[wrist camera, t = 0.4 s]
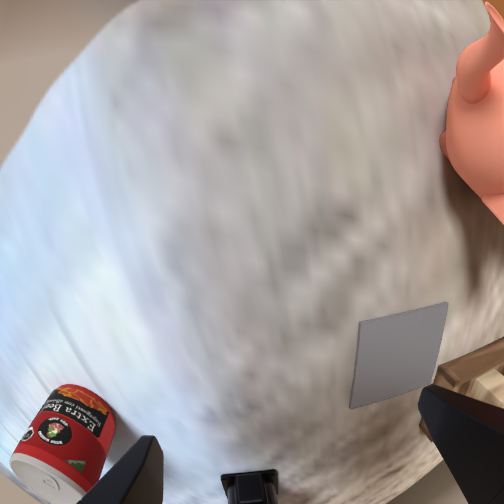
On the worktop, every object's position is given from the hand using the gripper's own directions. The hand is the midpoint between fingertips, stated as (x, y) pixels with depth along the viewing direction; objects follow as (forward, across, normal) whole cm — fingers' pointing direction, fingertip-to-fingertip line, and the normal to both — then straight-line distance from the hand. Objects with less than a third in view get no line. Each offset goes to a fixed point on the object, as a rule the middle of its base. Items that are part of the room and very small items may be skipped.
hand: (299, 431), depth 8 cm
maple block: (+12, -27, +18) cm, 35 cm away
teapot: (+14, -22, -11) cm, 28 cm away
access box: (+14, -27, +18) cm, 36 cm away
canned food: (+15, +19, +12) cm, 27 cm away
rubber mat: (+14, -13, +10) cm, 22 cm away
